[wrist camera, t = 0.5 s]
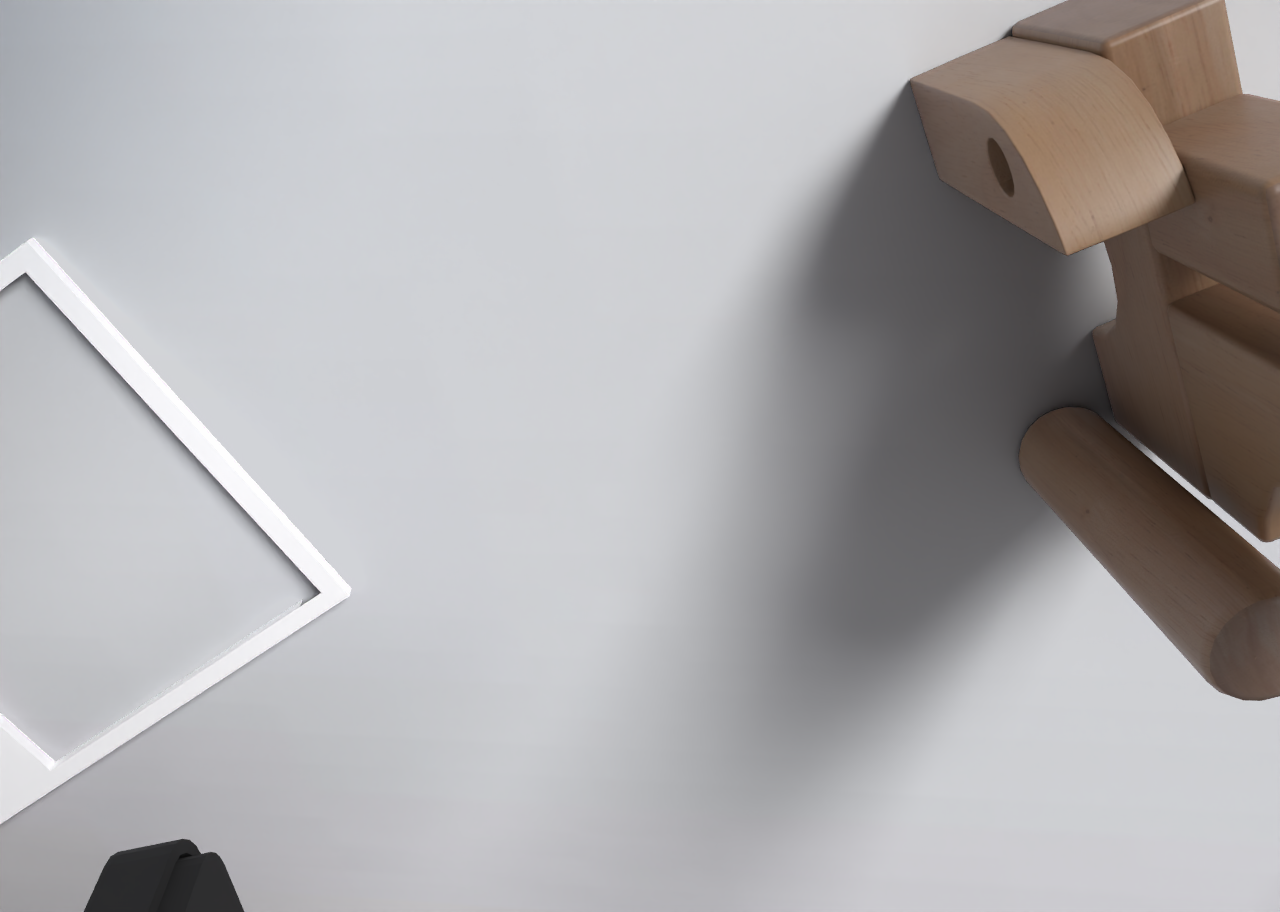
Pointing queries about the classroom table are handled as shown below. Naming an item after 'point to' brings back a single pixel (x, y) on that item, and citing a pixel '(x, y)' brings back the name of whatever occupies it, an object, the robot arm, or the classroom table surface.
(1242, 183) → the wooden toy
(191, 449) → the photo frame
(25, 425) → the classroom table surface
